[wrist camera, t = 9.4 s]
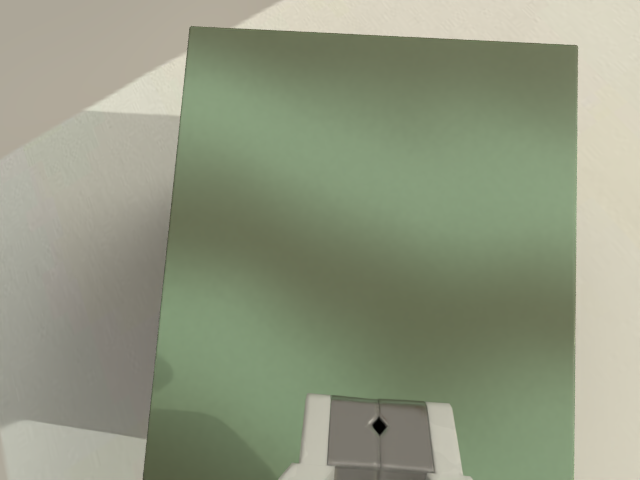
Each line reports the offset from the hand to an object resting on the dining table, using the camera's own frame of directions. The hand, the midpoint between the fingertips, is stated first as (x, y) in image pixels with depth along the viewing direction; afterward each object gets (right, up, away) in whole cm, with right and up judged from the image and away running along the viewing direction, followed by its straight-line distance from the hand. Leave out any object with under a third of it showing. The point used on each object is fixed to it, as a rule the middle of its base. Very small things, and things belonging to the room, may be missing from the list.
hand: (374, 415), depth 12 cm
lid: (0, +3, +7) cm, 8 cm away
